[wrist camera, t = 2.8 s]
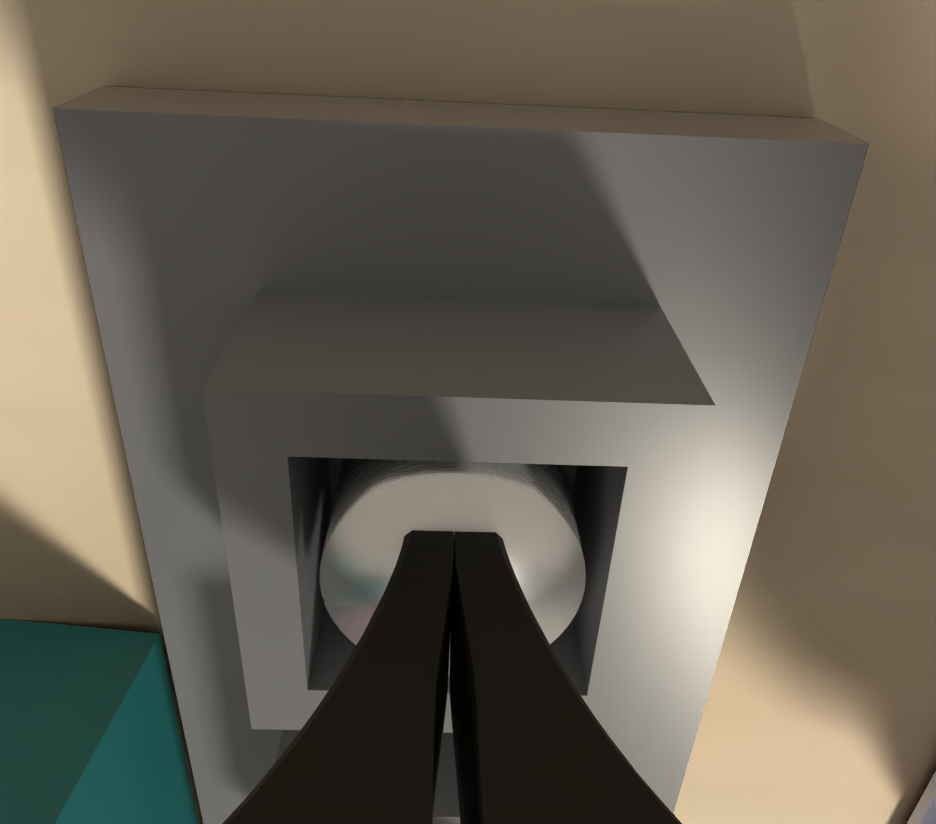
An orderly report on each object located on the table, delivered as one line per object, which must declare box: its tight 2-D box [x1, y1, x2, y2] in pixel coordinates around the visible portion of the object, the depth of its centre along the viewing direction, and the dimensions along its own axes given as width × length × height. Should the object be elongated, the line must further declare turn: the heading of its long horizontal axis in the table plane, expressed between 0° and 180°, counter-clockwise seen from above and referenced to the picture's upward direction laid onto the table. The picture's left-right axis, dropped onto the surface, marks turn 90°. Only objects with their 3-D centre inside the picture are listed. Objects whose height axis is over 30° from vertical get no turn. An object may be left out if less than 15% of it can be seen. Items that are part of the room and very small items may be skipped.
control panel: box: [53, 86, 869, 824], centre depth 19 cm, size 12×30×5 cm, turn 177°
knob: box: [320, 458, 586, 676], centre depth 13 cm, size 4×4×3 cm
